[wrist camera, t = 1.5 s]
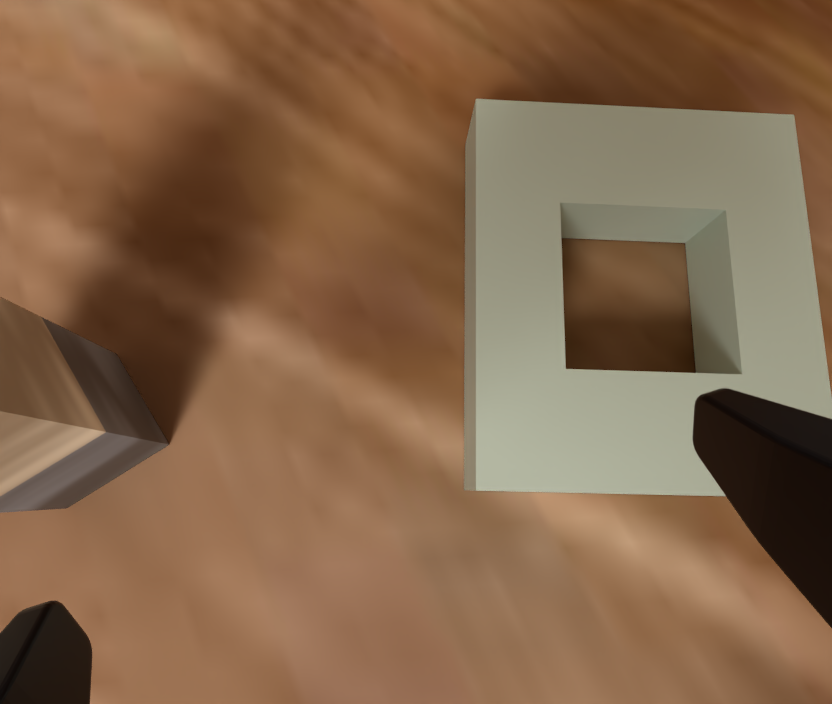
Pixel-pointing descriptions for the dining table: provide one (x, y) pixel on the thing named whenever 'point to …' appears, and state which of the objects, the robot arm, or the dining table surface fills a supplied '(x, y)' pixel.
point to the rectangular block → (64, 415)
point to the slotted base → (630, 221)
